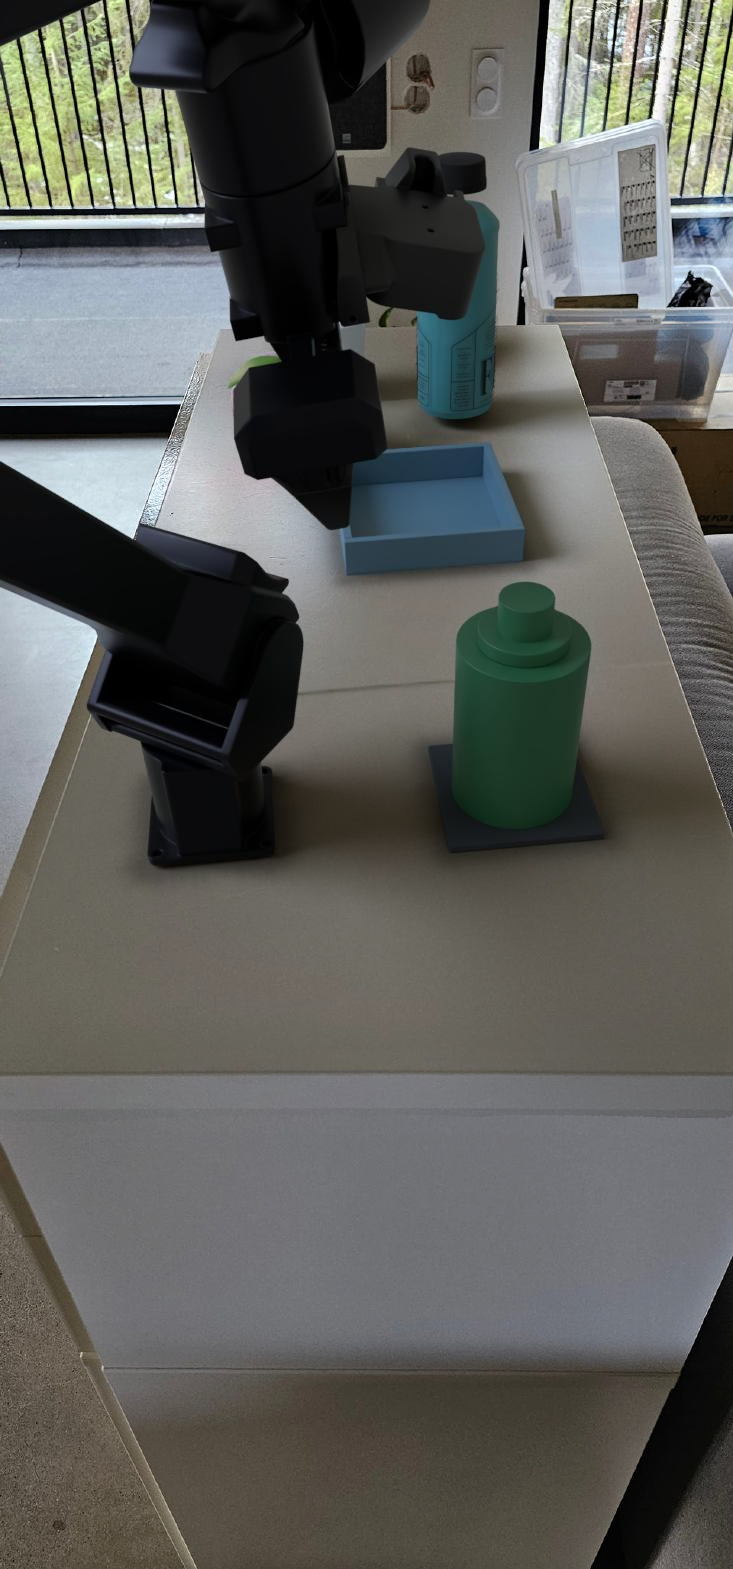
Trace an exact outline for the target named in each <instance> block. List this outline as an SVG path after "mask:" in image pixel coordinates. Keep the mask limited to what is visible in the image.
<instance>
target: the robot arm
mask: <svg viewBox="0 0 733 1569" xmlns="http://www.w3.org/2000/svg"><path fill="white" fill-rule="evenodd" d="M102 1H103V0H0V48H1V47H3V46H5V45H7V44H9V43H12V42H14V41H17V40H19V39H20V38H23V37H26V36H27V35H30V34H32V33H33V32H35V31H38V30H40V29H43V28H45V27H47V26H49V25H51V24H53V23H55V22H58V21H60V20H62V19H64V18H66V17H68V16H69V17H70V16H71V15H73V14H75V13H77V12H80V11H82V10H85V9H86V8H88V7H91V6H93V5H95V4H97V3H100V2H102ZM430 4H431V0H151V2H150V5H149V14H148V20H147V23H146V27H145V29H144V30H143V33H142V35H141V36H140V38H139V40H138V41H137V43H136V44H135V46H134V49H133V52H132V56H131V60H130V63H129V64H130V65H129V67H128V76H129V81H130V82H131V84H133V85H134V86H135V87H136V88H144V89H145V88H146V89H153V90H168V91H174V92H175V95H176V100H177V104H178V108H179V111H180V114H181V118H182V122H183V125H184V129H185V134H186V137H187V141H188V144H189V147H190V152H191V155H192V160H193V162H194V167H195V170H196V173H197V178H198V182H199V185H200V189H201V193H202V196H203V200H204V226H203V228H204V232H205V236H206V240H207V243H208V246H209V251H210V253H215V252H218V256H219V259H220V260H219V261H220V263H221V267H222V271H223V275H224V278H225V282H226V285H227V289H228V293H229V296H228V298H229V323H230V327H231V330H232V334H233V338H234V341H235V342H240V341H246V340H251V339H258V338H262V337H263V339H264V342H266V343H269V345H270V347H271V348H272V349H273V351H275V352H276V354H277V355H278V357H279V359H280V360H281V362H277V363H272V364H266V365H261V366H256V367H250V368H248V370H247V371H246V372H245V374H244V375H243V377H242V378H241V380H240V381H239V382H238V384H237V385H236V387H235V388H234V389H233V413H232V416H233V415H234V417H233V440H234V444H235V447H236V451H237V455H238V457H239V460H240V461H239V462H240V464H241V467H242V470H243V473H244V475H245V476H248V477H250V478H252V479H253V480H256V481H261V480H266V479H272V480H273V481H274V482H276V483H277V484H278V485H280V487H282V488H283V489H284V490H285V491H286V492H287V493H289V495H290V496H292V498H294V499H295V500H296V501H297V502H298V503H299V504H300V505H301V506H303V508H304V509H306V510H307V511H308V512H309V514H311V515H312V516H313V517H314V518H315V519H316V520H317V521H318V522H319V523H320V524H321V525H322V526H323V527H324V528H325V529H326V530H328V531H335V530H337V531H338V530H339V529H342V528H347V527H348V526H349V525H350V512H351V498H352V484H353V472H354V463H357V462H363V461H368V460H374V459H377V458H378V457H379V456H380V455H381V454H382V453H383V452H384V451H386V450H387V449H389V446H388V441H387V440H388V439H387V432H386V427H385V419H384V413H383V412H384V411H383V406H382V400H381V394H380V386H379V380H378V375H377V368H376V364H375V363H374V362H373V361H371V360H369V359H367V358H366V357H365V356H364V357H363V356H361V355H359V354H358V353H356V352H355V351H353V350H351V349H347V350H343V349H342V341H341V332H340V324H341V326H343V327H348V326H353V325H359V324H364V323H366V324H369V323H371V319H370V318H371V317H370V312H369V304H368V300H369V301H370V302H371V303H374V304H376V305H377V306H378V305H379V306H381V307H385V308H392V309H397V310H406V311H413V312H417V311H419V312H426V313H433V314H436V315H437V317H438V318H439V319H444V320H459V319H462V318H463V317H465V316H466V314H467V310H468V307H469V304H470V300H471V297H472V293H473V290H474V286H475V283H476V279H477V276H478V272H479V269H480V265H481V262H482V259H483V255H484V252H485V248H486V245H485V241H484V237H483V234H482V230H481V227H480V223H479V219H478V216H477V212H476V210H475V208H474V207H473V206H472V205H471V204H470V203H468V202H466V201H465V200H466V198H465V195H463V192H462V191H458V190H455V191H454V194H453V195H447V192H446V188H445V183H444V178H443V174H442V169H441V165H440V162H439V158H438V155H439V154H438V152H436V151H433V150H428V149H422V148H417V147H411V146H409V147H406V148H405V150H404V151H403V153H402V154H400V156H399V158H398V159H397V160H396V162H395V163H393V166H392V167H391V168H390V170H389V171H388V172H387V173H386V175H385V177H381V176H376V178H375V180H374V181H375V183H374V186H371V185H370V186H369V185H360V184H350V183H349V176H348V171H347V164H346V158H345V154H341V155H338V154H337V147H336V145H335V139H334V132H333V127H332V122H331V115H330V109H329V106H330V105H334V104H335V105H336V104H340V103H342V102H344V101H346V100H347V99H349V98H350V97H352V96H354V94H355V93H356V92H357V91H359V89H361V87H362V86H363V85H364V84H365V83H366V82H367V81H368V80H369V79H370V78H372V77H373V75H375V73H377V71H378V70H380V68H382V66H383V65H384V64H385V63H386V62H388V60H389V59H390V58H392V57H393V55H394V54H395V53H396V52H397V51H398V50H399V49H400V48H401V47H402V46H404V44H405V43H406V42H407V41H408V40H409V39H410V38H411V37H412V36H413V35H414V34H415V33H416V32H417V30H419V28H421V26H422V25H423V22H424V21H425V18H426V16H427V14H428V12H429V9H430ZM339 322H340V324H339ZM289 584H290V579H289V578H287V577H283V576H279V575H277V574H273V573H269V572H266V571H265V570H264V568H263V566H262V565H261V564H259V562H258V561H257V560H255V559H254V558H253V557H251V556H250V555H248V554H247V553H246V552H244V551H241V550H237V549H233V548H230V547H226V546H223V545H219V544H217V543H212V542H208V541H206V540H203V539H198V538H195V537H193V536H188V535H184V534H181V533H177V532H173V531H170V530H167V529H163V528H161V527H160V528H159V527H156V526H153V525H149V524H147V523H143V522H139V523H138V528H137V531H136V535H135V539H134V538H132V537H130V536H129V535H127V534H125V533H123V532H122V531H120V530H119V529H117V528H115V527H113V526H112V525H110V524H108V523H107V522H105V521H103V520H102V519H100V518H98V517H97V516H95V515H93V514H91V513H89V512H88V511H86V510H85V509H83V508H81V507H80V506H78V505H76V504H74V503H73V502H71V501H69V500H68V499H66V498H64V497H62V496H61V495H59V494H57V493H56V492H55V491H52V490H51V489H49V488H47V487H46V486H44V485H42V484H40V483H38V482H37V481H35V480H34V479H32V478H30V477H28V476H27V475H25V474H24V473H22V472H20V471H18V470H17V469H15V468H13V466H9V465H8V464H7V463H4V461H2V460H0V588H1V589H3V590H5V591H8V592H11V593H13V594H15V595H17V596H20V597H21V598H24V599H26V600H29V601H31V602H34V603H36V604H38V605H40V606H43V607H46V608H48V609H50V610H52V611H54V612H57V613H59V614H62V615H64V616H66V617H69V618H71V619H73V620H76V621H78V622H80V623H83V624H85V625H87V626H89V627H91V629H93V630H94V631H95V634H96V638H97V640H98V643H99V645H100V646H101V648H103V650H104V652H103V656H102V659H101V662H100V664H99V668H98V669H97V673H96V676H95V679H94V682H93V685H92V687H91V690H90V694H89V696H88V699H87V702H86V710H87V711H88V713H89V714H90V715H91V717H92V718H93V719H94V721H95V722H96V723H97V725H98V726H99V727H100V728H101V729H102V730H104V731H107V732H109V733H112V732H115V733H117V734H121V735H123V736H126V737H128V738H130V739H133V740H136V741H139V742H140V747H141V751H142V756H143V760H144V765H145V770H146V773H147V778H148V783H149V788H150V792H151V798H150V799H151V800H150V815H149V828H148V843H147V859H148V862H149V864H150V865H152V866H154V867H162V866H171V865H172V866H173V865H174V866H175V865H184V864H195V863H196V864H197V863H207V862H208V863H209V862H217V861H227V860H228V861H230V860H240V859H251V858H261V857H270V856H272V855H274V854H275V853H276V851H277V831H276V813H275V811H276V810H275V792H274V791H275V790H274V773H273V769H272V768H271V767H270V766H267V765H262V761H264V760H265V759H266V758H267V756H268V755H269V754H270V753H271V752H272V751H273V750H274V749H275V748H276V747H277V746H278V745H279V744H280V742H281V741H283V740H284V739H285V737H286V736H288V734H289V733H290V732H291V731H292V730H293V728H294V725H295V719H296V713H297V712H296V711H297V702H298V696H299V686H300V678H301V673H302V672H301V670H302V662H303V654H304V644H305V642H304V634H303V630H302V628H301V627H300V625H299V624H298V621H299V619H300V614H299V611H298V609H297V606H296V603H295V601H293V600H292V599H291V597H290V596H289V595H287V594H285V593H284V591H285V590H286V589H287V588H288V587H289Z"/></svg>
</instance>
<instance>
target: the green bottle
mask: <svg viewBox="0 0 733 1569" xmlns="http://www.w3.org/2000/svg"><path fill="white" fill-rule="evenodd" d="M555 595H556V594H555V593H554V591H553V590H552V589H551V588H549V586H546V585H544V584H541V583H539V582H534V581H517V582H512V583H510V584H507V585H505V586H504V587H502V589H500V591H499V593H498V598H497V605H496V606H493V607H490V608H486V609H484V610H481V611H479V612H477V613H475V614H474V615H472V616H470V617H469V618H467V619H466V620H465V621H464V622H463V623H462V624H461V626H460V627H459V629H458V631H457V634H456V637H455V661H454V688H453V690H454V692H453V694H454V695H453V723H452V725H453V726H452V728H453V729H452V744H453V756H452V792H453V796H454V798H455V800H456V802H457V803H458V805H459V806H460V807H461V809H462V810H463V811H464V812H466V813H467V814H468V815H469V816H471V817H472V818H474V819H476V820H478V821H480V822H482V823H484V824H487V825H490V826H493V827H498V828H503V829H528V828H533V827H537V826H541V825H544V824H546V823H548V822H550V821H552V820H554V819H556V818H557V817H558V816H559V815H561V814H562V813H563V812H564V811H565V809H566V808H567V806H568V805H569V803H570V801H571V797H572V791H573V784H574V776H575V769H576V761H577V758H578V753H579V745H580V737H581V730H582V723H583V714H584V707H585V700H586V692H587V684H588V676H589V669H590V662H591V654H592V641H591V640H592V639H591V637H590V635H589V633H588V631H587V630H586V628H585V627H584V626H583V625H582V624H581V623H580V622H579V621H578V620H576V619H575V618H573V617H572V616H570V615H569V614H566V613H565V612H562V611H560V610H557V609H555V608H556V607H555V606H556V596H555Z"/></svg>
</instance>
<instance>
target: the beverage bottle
mask: <svg viewBox="0 0 733 1569" xmlns="http://www.w3.org/2000/svg"><path fill="white" fill-rule="evenodd" d="M438 158H439V162H440V165H441V169H442V174H443V178H444V183H445V188H446V192H447V196H453V194H454V191H455V190H458V191H462V192H463V195H464V196H466V195H472V194H478V193H481V192H484V191H485V190H487V188H488V186H487V185H488V178H487V161H486V157H485V156H483V155H482V154H480V153H476V152H470V151H452V152H445V153H441V154H438ZM465 201H466V202H468V203H470V204H471V205H472V206H473V207H474V208H475V210H476V212H477V216H478V219H479V223H480V227H481V230H482V234H483V237H484V241H485V245H486V248H485V252H484V255H483V259H482V262H481V265H480V269H479V272H478V276H477V279H476V283H475V286H474V290H473V293H472V297H471V300H470V304H469V307H468V310H467V314H466V316H465V317H463V318H462V319H459V320H444V319H439V318H438V317H437V315H436V314H433V313H426V312H419V311H416V313H415V314H414V316H416V319H415V324H416V326H415V327H416V330H415V331H416V332H415V334H416V335H415V339H417V344H416V347H415V349H416V363H415V366H416V380H415V383H417V385H416V388H415V389H416V392H417V395H416V399H417V400H418V403H419V407H420V409H421V410H422V411H423V412H425V413H426V414H428V415H429V416H432V417H435V418H440V419H447V420H463V419H464V420H465V419H469V418H470V419H471V418H475V417H477V416H480V415H483V414H485V413H486V412H488V411H489V409H490V408H491V405H492V403H493V401H494V399H495V393H494V392H495V391H496V390H495V387H496V385H495V382H496V379H495V375H496V349H497V341H498V340H497V339H498V336H497V335H498V328H497V325H498V324H499V323H498V318H499V317H498V316H499V315H498V314H497V304H498V303H497V302H498V299H499V298H498V296H499V294H500V293H499V292H498V291H499V290H500V288H498V281H500V279H499V277H498V276H499V274H498V258H499V256H498V254H499V232H500V228H501V227H500V226H501V225H500V224H501V223H500V220H499V218H498V217H497V215H496V214H495V213H494V212H493V211H492V210H491V209H490V208H489V207H488V206H487V205H486V204H485V203H483V202H481V201H477V200H471V199H465Z"/></svg>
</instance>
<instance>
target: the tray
mask: <svg viewBox="0 0 733 1569" xmlns="http://www.w3.org/2000/svg"><path fill="white" fill-rule="evenodd" d="M338 533H339V539H340V545H341V553H342V559H343V565H344V566H343V567H344V571H345V572H344V573H345V576H358V575H359V576H360V575H371V574H383V573H397V572H410V571H424V570H435V569H448V568H460V567H463V568H464V567H473V566H486V565H487V566H489V565H498V564H499V565H501V564H512V563H513V564H514V563H523V562H524V561H523V559H524V545H525V536H526V534H525V533H526V528H525V526H524V523H523V521H522V518H521V516H520V513H519V511H518V508H517V506H516V502H515V501H514V498H513V495H512V493H511V491H510V488H509V485H508V483H507V481H506V478H505V476H504V473H503V470H502V468H501V466H500V463H499V460H498V458H497V456H496V453H495V451H494V449H493V446H492V443H491V442H490V441H486V442H485V441H484V442H473V443H471V442H470V443H460V444H459V443H457V444H444V445H432V446H431V445H430V446H415V447H404V448H401V447H400V448H388V449H387V450H386V451H384V452H383V453H382V454H381V455H380V456H379V457H378V458H377V459H374V460H368V461H363V462H357V463H354V472H353V484H352V498H351V512H350V525H349V526H348V527H347V528H342V529H338Z"/></svg>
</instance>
